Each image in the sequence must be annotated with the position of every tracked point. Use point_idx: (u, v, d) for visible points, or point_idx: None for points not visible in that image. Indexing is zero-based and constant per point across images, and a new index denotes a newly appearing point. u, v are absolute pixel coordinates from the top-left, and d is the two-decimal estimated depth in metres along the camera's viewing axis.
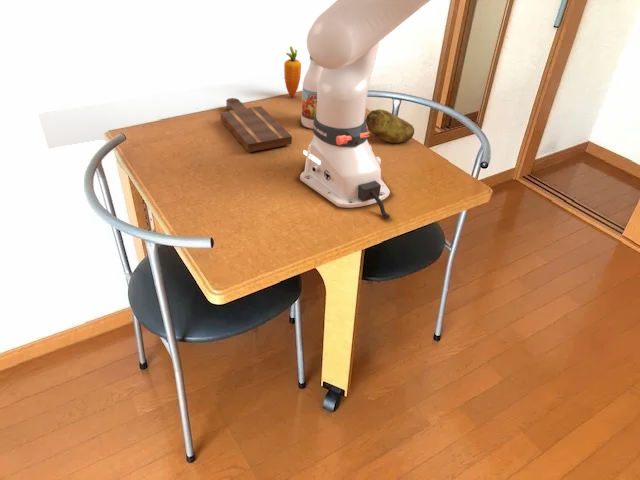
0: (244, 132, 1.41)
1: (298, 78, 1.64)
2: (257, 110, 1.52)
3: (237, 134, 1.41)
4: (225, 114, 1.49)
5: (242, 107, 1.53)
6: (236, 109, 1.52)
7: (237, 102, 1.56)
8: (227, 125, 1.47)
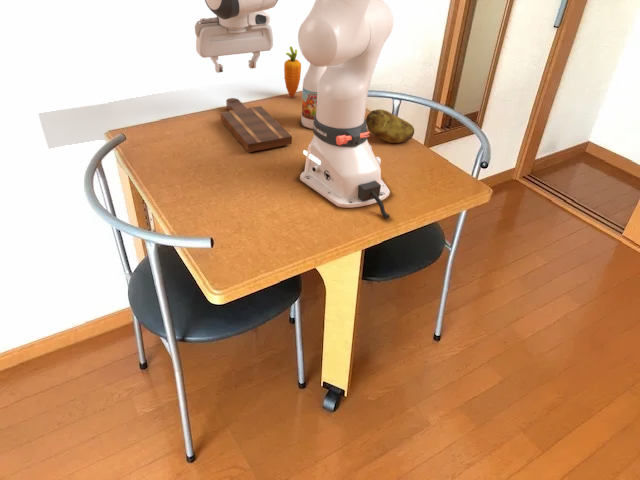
0: (244, 132, 1.41)
1: (298, 78, 1.64)
2: (257, 110, 1.52)
3: (237, 134, 1.41)
4: (225, 114, 1.49)
5: (242, 107, 1.53)
6: (236, 109, 1.52)
7: (237, 102, 1.56)
8: (227, 125, 1.47)
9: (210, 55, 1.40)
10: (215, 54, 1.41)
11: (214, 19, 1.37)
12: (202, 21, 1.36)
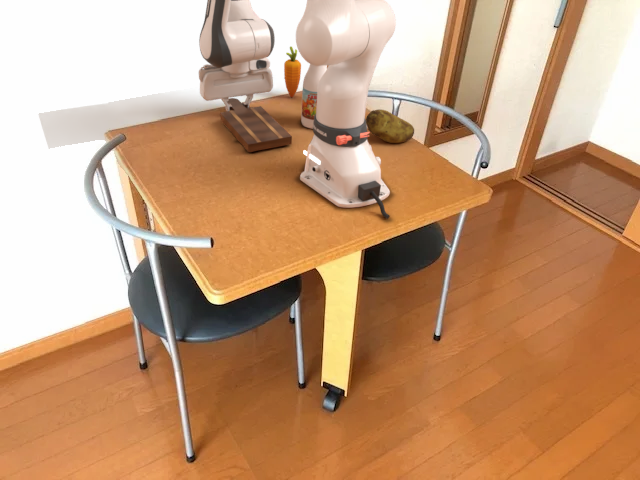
0: (244, 132, 1.41)
1: (298, 78, 1.64)
2: (257, 110, 1.52)
3: (237, 134, 1.41)
4: (225, 114, 1.49)
5: (242, 107, 1.53)
6: (235, 109, 1.52)
7: (237, 102, 1.56)
8: (227, 125, 1.47)
9: (213, 98, 1.47)
10: (218, 97, 1.48)
11: None
12: (205, 67, 1.43)
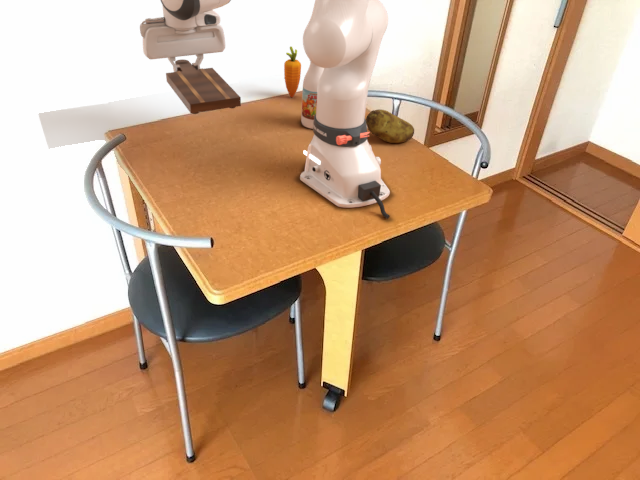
0: (188, 93, 1.28)
1: (298, 78, 1.64)
2: (207, 71, 1.39)
3: (180, 94, 1.29)
4: (171, 74, 1.36)
5: (191, 68, 1.40)
6: (184, 70, 1.39)
7: (187, 63, 1.43)
8: (172, 86, 1.34)
9: (157, 57, 1.34)
10: (163, 56, 1.35)
11: (160, 19, 1.31)
12: (147, 21, 1.30)
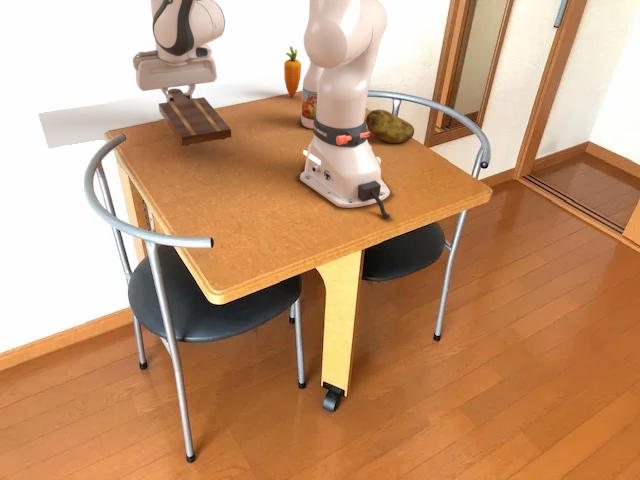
0: (179, 124, 1.31)
1: (298, 78, 1.64)
2: (199, 101, 1.43)
3: (172, 126, 1.32)
4: (164, 105, 1.40)
5: (184, 98, 1.44)
6: (176, 100, 1.43)
7: (179, 93, 1.46)
8: (164, 116, 1.37)
9: (150, 88, 1.38)
10: (155, 87, 1.38)
11: (153, 52, 1.35)
12: (140, 55, 1.33)
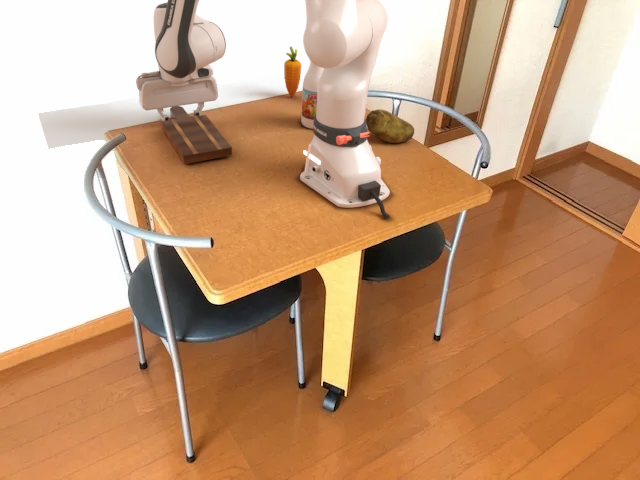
0: (181, 143, 1.34)
1: (298, 78, 1.64)
2: (200, 119, 1.46)
3: (175, 145, 1.35)
4: (166, 123, 1.43)
5: (185, 116, 1.47)
6: (178, 117, 1.46)
7: (181, 110, 1.49)
8: (167, 134, 1.40)
9: (153, 108, 1.41)
10: (158, 107, 1.41)
11: (156, 73, 1.38)
12: (143, 76, 1.37)
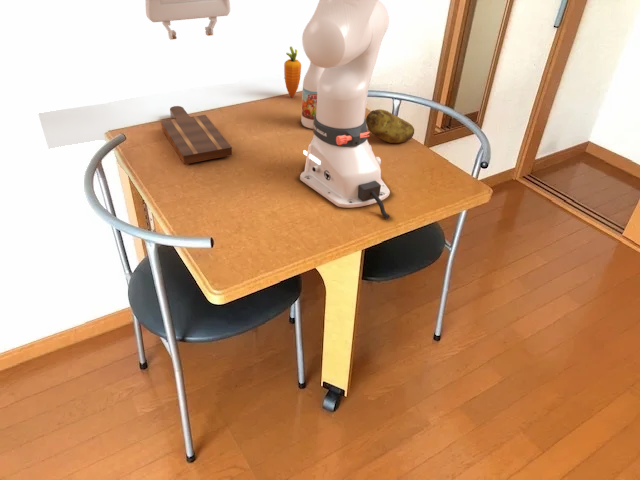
0: (181, 143, 1.34)
1: (298, 78, 1.64)
2: (200, 119, 1.46)
3: (175, 145, 1.35)
4: (166, 123, 1.43)
5: (185, 116, 1.47)
6: (178, 117, 1.46)
7: (181, 110, 1.49)
8: (167, 134, 1.40)
9: (161, 19, 1.31)
10: (166, 18, 1.31)
11: None
12: None
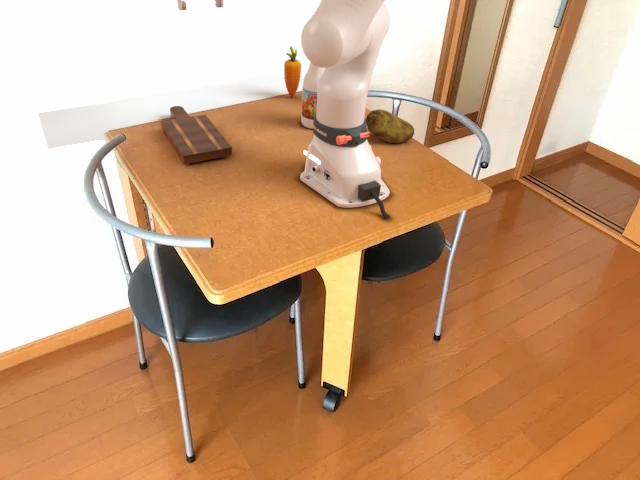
0: (181, 143, 1.34)
1: (298, 78, 1.64)
2: (200, 119, 1.46)
3: (175, 145, 1.35)
4: (166, 123, 1.43)
5: (185, 116, 1.47)
6: (178, 117, 1.46)
7: (181, 110, 1.49)
8: (167, 134, 1.40)
9: None
10: None
11: None
12: None
